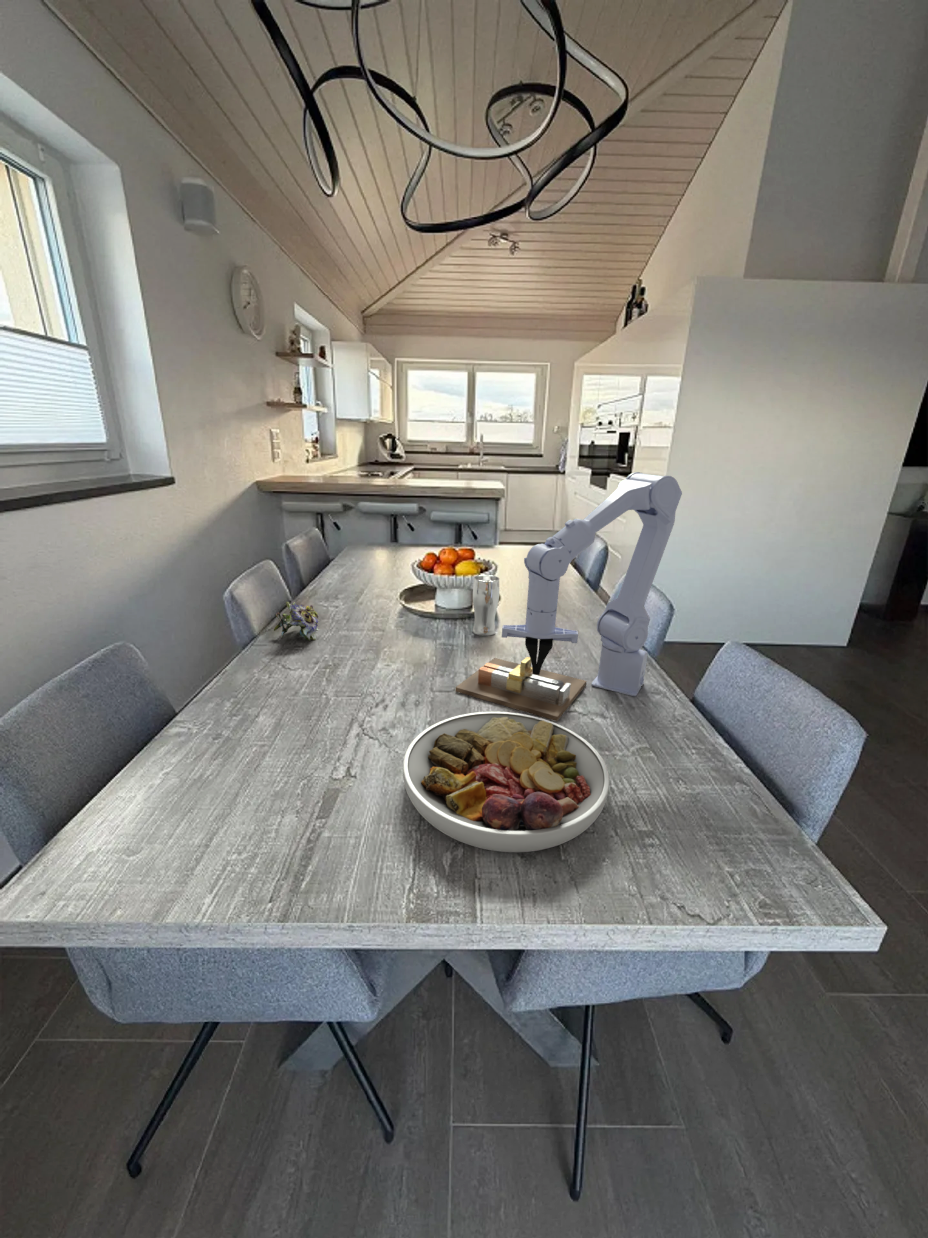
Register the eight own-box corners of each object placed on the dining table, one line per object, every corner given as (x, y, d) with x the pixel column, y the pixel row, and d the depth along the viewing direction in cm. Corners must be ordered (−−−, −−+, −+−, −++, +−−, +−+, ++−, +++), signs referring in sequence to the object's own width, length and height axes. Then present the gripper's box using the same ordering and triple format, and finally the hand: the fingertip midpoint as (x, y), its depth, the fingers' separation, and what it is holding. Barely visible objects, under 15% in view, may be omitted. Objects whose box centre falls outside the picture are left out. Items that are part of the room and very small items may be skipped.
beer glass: (487, 638, 137) (490, 583, 132) (465, 632, 141) (467, 578, 136) (502, 631, 142) (505, 577, 137) (481, 625, 146) (483, 573, 141)
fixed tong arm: (569, 698, 105) (570, 683, 104) (562, 706, 102) (563, 691, 101) (487, 675, 114) (488, 662, 113) (478, 683, 110) (478, 669, 109)
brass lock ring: (531, 682, 109) (533, 656, 107) (520, 693, 104) (522, 666, 102) (518, 678, 110) (520, 652, 109) (506, 689, 106) (508, 662, 104)
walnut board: (586, 685, 113) (586, 680, 113) (557, 721, 98) (557, 716, 98) (494, 661, 123) (494, 657, 123) (455, 691, 108) (455, 687, 108)
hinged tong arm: (563, 695, 106) (565, 681, 105) (559, 700, 104) (561, 686, 103) (487, 674, 114) (488, 661, 113) (482, 679, 112) (483, 665, 111)
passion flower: (313, 659, 134) (316, 633, 125) (268, 653, 132) (268, 626, 123) (320, 623, 141) (323, 596, 132) (277, 617, 139) (277, 588, 129)
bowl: (383, 752, 88) (383, 710, 85) (543, 725, 98) (547, 686, 95) (438, 893, 61) (439, 839, 59) (649, 836, 71) (658, 787, 69)
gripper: (578, 604, 104) (571, 667, 108) (505, 599, 105) (501, 661, 110) (581, 615, 97) (573, 682, 101) (502, 609, 99) (498, 675, 103)
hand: (536, 672), depth 105 cm, fingers closed
